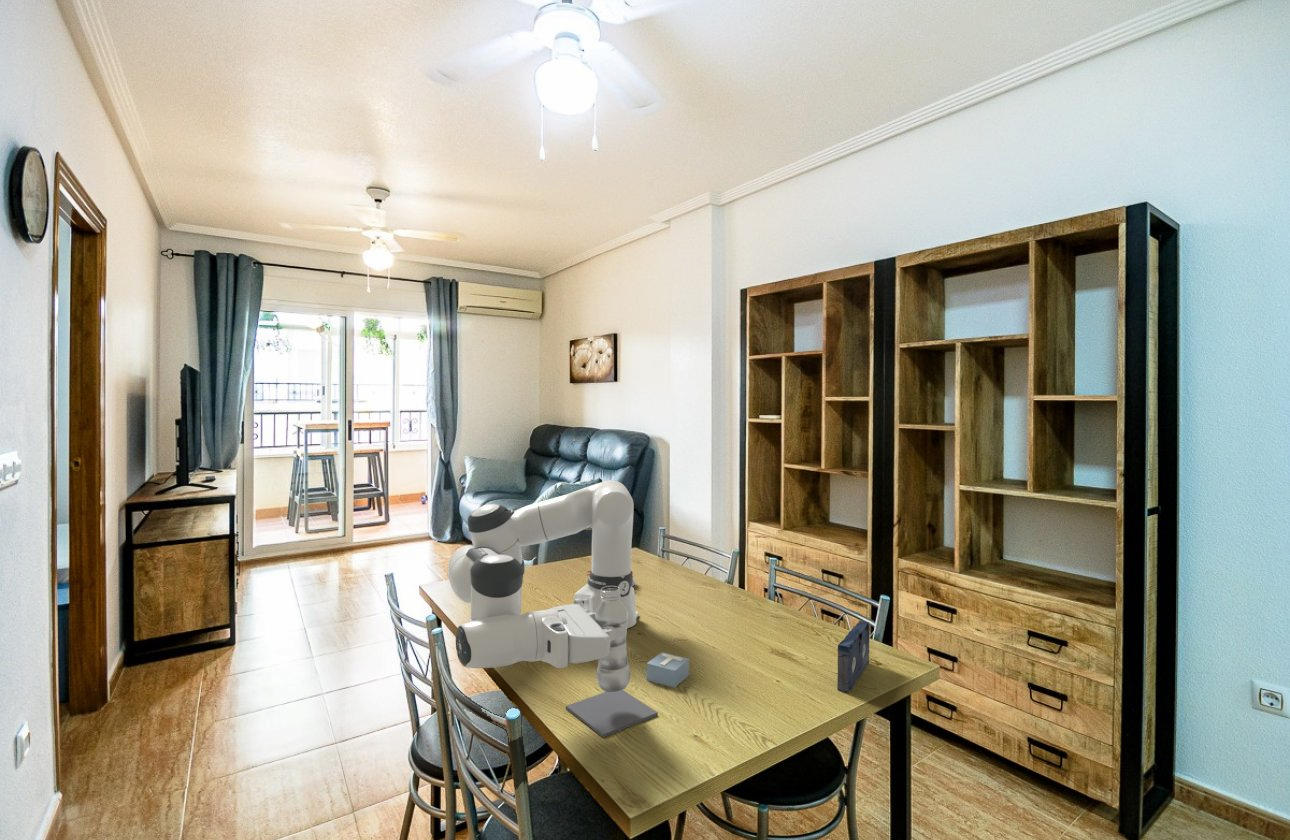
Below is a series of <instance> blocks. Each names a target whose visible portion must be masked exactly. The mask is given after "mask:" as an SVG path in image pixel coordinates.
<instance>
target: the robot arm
mask: <svg viewBox="0 0 1290 840" xmlns="http://www.w3.org/2000/svg"><path fill="white" fill-rule="evenodd" d="M634 506H635V505H634V500H633V497H632V495H631V493H630V491H629V490H628V488H627V487H626V486H625V485H624V484H623V483H621V482H620V481H617V480H613V479H609V480H605V481H601V482H598V483H595V484H592V485H588V486H586V487H583V488H580V489H578V490H575V491H572V492H569V493H566V494H564V495H560V496H556V497H552V498H548V499H544V500H541V501H537V502H533V503H531V504H528V505H525V506H523V507H520V508H517V509H515V510H513V509H510V508H508V507H506V506H504V505H501V504H500V503H499V504H498V503H492V504H491V503H488V504H485V505H484V504H483V505H481V506H480V507H478V508H476V509H474V510H473V511H472V512H471V513H469V514H470V515H468V516H467V528H468V529H467V530H468V532H470V538H471V543H472V544H466V545H463V546H460V547H458V548H457V549H456V550H455V551H454V552H453V553H452V554H451V556H450V558H449V561H448V565H447V576H448V580H449V581H448V582H449V583H450V584H449V585H450V587H451V589H452V591H453V593H454V595H455V596H456V597H457V598H458V600H460V601H462V602H463V603H467V604H470V618H469V620H468V621H467V622H465V623H462V624H461V623H460V625H459V626H458V627H457V629H456V632H455V649H456V655H457V658H458V661H459V663H461V665H462V666H463V667H464V668H468V669H489V668H499V667H506V666H512V665H514V664H515V663H519V662H539V661H541V662H542V663H547V664H549V665H550V666H553V667H555V668H556V669H564V668H568V666H569V663H570V664H582V663H588V662H591V661H598V659H602V658H605V657H606V656H608V655H609V653H610V642H611V641H612V640H614V639H616V638H621V637H623V636H624V628H623V627H621V626H613V628H612V629H609V630H607V629H602V628H601V627H600V626H599V625H598V624H597V623H596V621H595V614H596V610H597V609H598V607H599V605H600V604H601V602H602V600H601V588H603V587H606V586H617V587H619V588H620V595H621V598H620V599H619V600H620V601H621V602H622V603H623V605H624V606H625V607H626V609H627V612H628V624H627V629H629V628H632V627H634V626H636V624H637V619H638V617H639V616H640V615H639V611H637V608H636V607H637V606H636V594H635V589H634V586H632V584H633V580H634V575H633V571H632V544H633V543H632V539H633V528H634V527H633V526H634V509H635V507H634ZM588 528H592V529H591V570H589V571H588V570H587V571H586V573H587V574H586V576H588V579H587V582H586V584H585V585H583V586H582V587H581V588H579V589H578V590H577V591H576V592H575V593H574V596H573V603H569V604H564V605H559V606H558V605H557V606H553V607H551V608H548V609H541V610H533V611H528V612H524V613H522V594H523V592H522V590H523V581H524V580H523V579H524V576H525V575H524V574H525V561H524V559H523V555H522V549H521V547H525V546H531V545H532V546H533V545H538V544H542V543H547V542H550V541H551V542H552V541H553V540H558V539H560V538H564V537H568V536H571V535H576V534H578V533H580V532H582V531H584V530H586V529H588Z"/></svg>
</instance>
